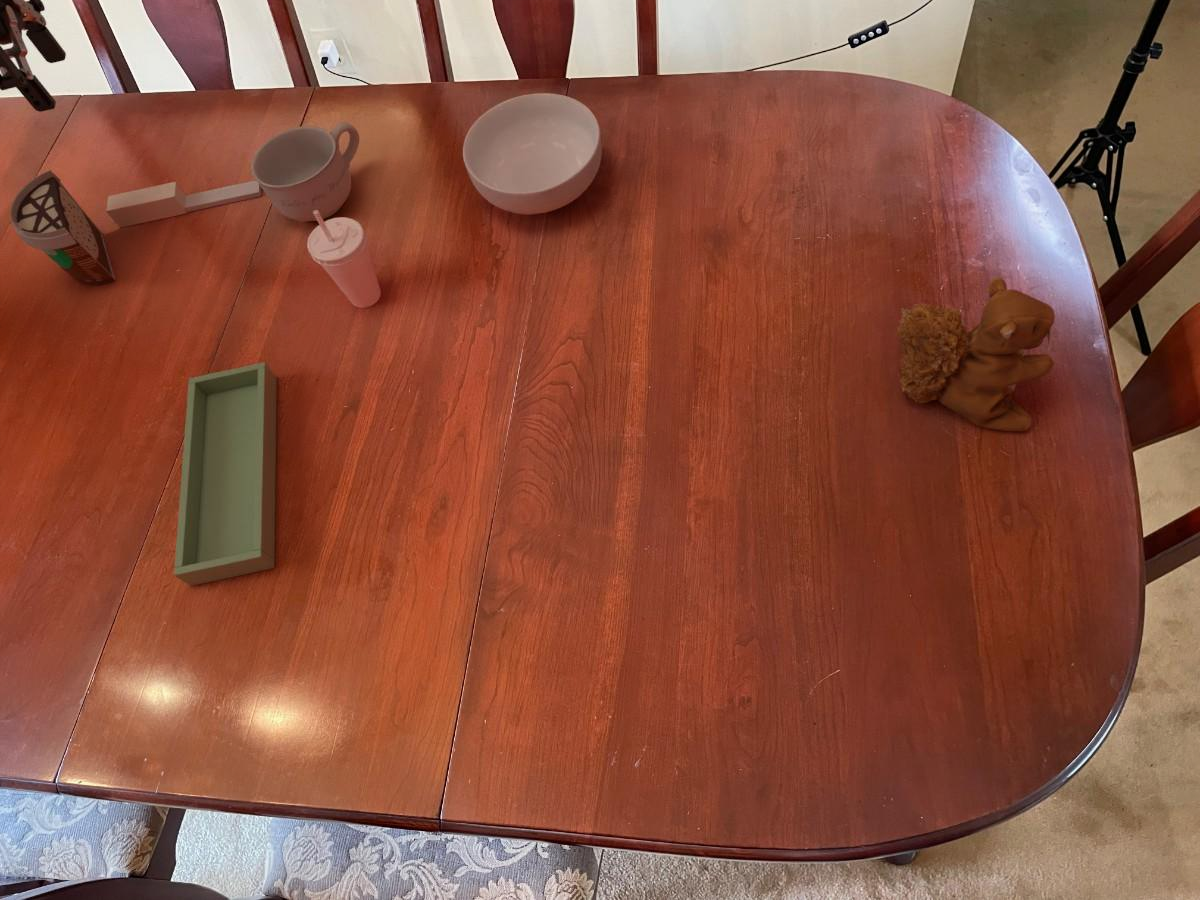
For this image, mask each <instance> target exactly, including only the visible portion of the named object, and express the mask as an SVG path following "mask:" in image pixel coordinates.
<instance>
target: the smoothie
mask: <svg viewBox="0 0 1200 900" xmlns="http://www.w3.org/2000/svg"><path fill="white" fill-rule="evenodd" d="M313 214H314V215H315V217H316V219H317V221H316V222H317V223H318V224H319V225H317V226H316V227H315V228H313V230H312V231H311V233H310V234H309V235H308V238H307V242H306V246H307V251H308V253H309V254H310V257H311V258H312V259H313V261H314V262H316V263H317V264H319V265H320V266H321V267H322V268H323V269H324V271H325V272H326V273H327V274H328V276H329V277H330V278H331V279H332V281H333V282H334V283H335V284H336V285H337V287H338V288H339V290H341V293H343V294H344V295H345V297H346V298H347V299H348V300H349V302H350V303H351V304H352V305H353V306H354V307H356V308H359V309H366V308H370V307H372V306H373V305H375V304H376V303H377V302H378V301H379V300H380V298H381V295H382V291H381V288H380V284H379V282H378V278H377V274H376V271H375V269H374V265H373V262H372V259H371V258H372V257H371V255H370V252H369V249H368V245H367V239H368V237H367V233H366V231H365V230H364V228H363V226H362V224H360V222H359V221H357V220H355V219H353V218H350V217H341V216H340V217H333V218H330V219H326V220H325V221H324V219H322V217H321V215H320V213H319V212H318V210H315V211H314V212H313Z"/></svg>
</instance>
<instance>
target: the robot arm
mask: <svg viewBox="0 0 1200 900" xmlns="http://www.w3.org/2000/svg"><path fill="white" fill-rule="evenodd" d="M45 9H46V8H45V4H44V3H43V1H42V0H0V91H6V90H10V89H14V88H16V89H17V90H18V91H19V93H20V94H21V95H22V96H23V97H24V99H25V100H26V101H27V102H28V104H30V106H31V107H32V108H33V109H34V110H35V111H36V112H40V113H41V112H46V111H50V110H54V109H55V108H56V105H57V102H56V100H55V98H54V97H53V96H52V94H51V93H50V92H49V91H48V90H47V88H46V87H45V86H44V85H43V84H42V82H41V81H40V80H39V78H38V77H37V76H36V75H35V74H34V73H33V72H32V70H31V67H30V65H29V63H28V60H27V57H26V56H27V55H28V52H29V51H28V47H27V46H26V44H25V41H24V39H23V31H26V32H25V36H26V37H27V39H29V41H30V42H31V43H32V44H33V46H34V47H35V49H36V50H37V51H38V53H39V54H40V55H41V56H42V57H43V59H44V61H46V63H49V64H54V63H60V62H63V61H65V60H66V57H67V53H66V51H65V50H64V49H63V47H62V46H61V44H60V43H59V41H58V40H57V39H56V38H55V36H54V35H53V34H52V33H51V30H49V28H48V27H47V21H46V18H45V16H44V15H43V14H42V12H44V11H45ZM11 44H12V46H11V47H8V48H5V49H4V48H3V46H6V45H11ZM12 59H15V61H16V64H17V65H16V64H15V62H14V61H13V60H12ZM17 66H18V67H17Z"/></svg>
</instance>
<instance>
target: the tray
mask: <svg viewBox="0 0 1200 900" xmlns="http://www.w3.org/2000/svg"><path fill="white" fill-rule="evenodd" d="M277 381H278V377H277V375H276V374H275V373H274V372H273V371H272V369H271V368H270V366H269V365H268V364H267V363H266V362H265V361H262V362H258V363H253V364H249V365H243V366H240V367H239V366H238V367H234V368H230V369H226V370H222V371H221V370H220V371H217V372H211V373H207V374H202V375H198V376H194V377H193V376H192V377H189V378H188V387H187V400H186V402H187V403H186V412H185V423H184V439H183V450H182V451H183V453H182V464H181V465H182V466H181V478H180V489H179V490H180V491H179V506H178V517H177V531H176V544H175V555H174V570H173V575H174V577H176V578H178V579H179V580H180V581H182V582H183V583H185V584H186V585H188V586H189V587H192V586H193V587H194V586H196V585H197V586H198V585H201V584H206V583H211V582H216V581H221V580H224V579H229V578H234V577H238V576H243V575H248V574H252V573H253V574H254V573H258V572H262V571H266V570H271V569H275V558H276V557H275V556H276V555H275V554H276V553H275V551H276V548H275V547H276V534H275V533H276V473H277V471H276V470H277V469H276V464H277V463H276V462H277V461H276V460H277V459H276V458H277V457H276V456H277V453H276V452H277V388H278V387H277V386H278V385H277V383H278V382H277Z"/></svg>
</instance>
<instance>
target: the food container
mask: <svg viewBox="0 0 1200 900" xmlns="http://www.w3.org/2000/svg"><path fill="white" fill-rule="evenodd" d="M11 203H12V204H11V207H10V211H9V212H10V220H11V224H12V226H13V228H14V230H15V231H16V232H15V233H17V235H18V237H19V238H20V239H21V241H22V242H23V243H24V244H25V245H26V246H29V247H31V248H34V249H37V250H41V251H42V252H43V253H44V254H45V255H46V256H48V257H49V258H50V259H51V260H52V261H53V262H54V263H55V264H57V265H58V266H59V267H60V268H61V269H62V270H63V271H65V272H66V273H67V274H68V275H69V276H70V277H71V278H73V280H75V281H76V282H77V283H79V284H82V285H85V286H102V285H106V284H109V283H112V282H115V281H116V278H115V274H114V270H113V267H112V263H111V260H110V256H109V253H108V249H107V245H106V241H105V238H104V235H103V232H102V231H101V230H100V229H99V228H98V226H97V225H96V224H95V223H94V221H93V220H92V219H91V218H90V217H89V215H88V214H87V213H86V211H84V209H83V208H82V207H81V206H80V204H79V203H78V202H77V201H76V199H75V197H73V195H71V193H70V192H69V190H68V189H67V188H66V187H65V185H64V184H63V183H62V182H61V178H60V177H58V176H57V174H55V172H53V171H52V170H51V169H48V170H47V171H44V172H43V173H41V174H39V175H38V176H36V177H34V178H33V179H31V180H30V181H29V182H28V183H26V184H25V185H24V186H23V188H21V189H20V191H18V193H17V194H16V195H15V197H14V199H13V201H12V202H11Z"/></svg>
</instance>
